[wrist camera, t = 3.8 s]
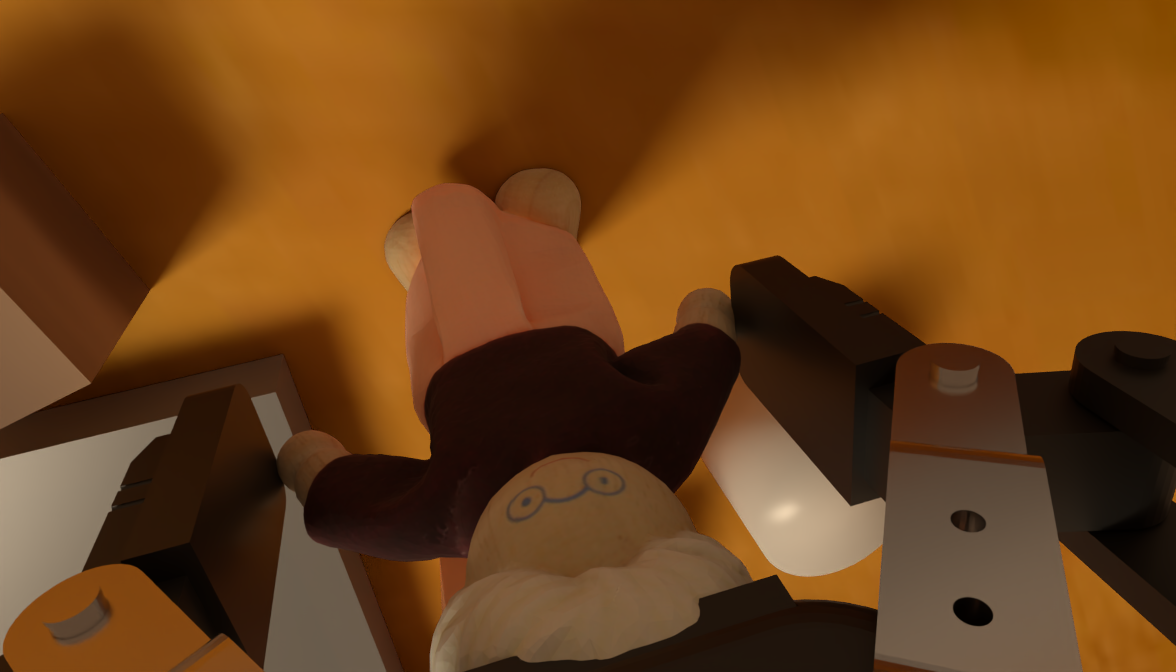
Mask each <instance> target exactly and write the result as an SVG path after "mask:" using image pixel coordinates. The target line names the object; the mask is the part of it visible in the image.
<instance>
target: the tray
mask: <svg viewBox="0 0 1176 672" xmlns="http://www.w3.org/2000/svg"><path fill="white" fill-rule="evenodd" d="M238 383H239V384H242V385H243V386H244V387H245V388H246V390H247V392H248V393H249V395H250V397H251V400H252V402H253V404H254V407H255V409H256V412H257V414H258V416H259V419H260V421H261V424H262V426H263V428H264V431H265V433H266V436H267V438H268V440H269V443H270V445H271V447H272V450H273V452H274V455H275V457H276V459H277V456H278V454H279V451H280V449H281V447H282V446H283V445H284V444H285V442H286V441H287V440H288V439H289V438H291V437H292V436H294V435H295V434H297V433H300V432H303V431H309V430H312V429H311V426H310V423H309V421H308V418H307V415H306V413H305V410H304V408H303V405H302V402H301V400H300V397H299V394H298V392H297V389H296V387H295V384H294V381H293V379H292V376H291V373H290V371H289V368H288V365H287V363H286V360H285V358H284V355H283V354H281V355H277V356H273V357H269V358H264V359H260V360H256V361H252V362H247V363H243V364H239V365H235V366H230V367H226V368H222V369H218V370H213V371H209V372H205V373H201V374H196V375H192V376H188V377H184V378H179V379H175V380H171V381H167V382H162V383H158V384H154V385H150V386H145V387H141V388H137V389H133V390H128V391H124V392H120V393H116V394H111V395H107V396H103V397H99V398H94V399H90V400H86V401H82V402H77V403H73V404H69V405H65V406H60V407H56V408H52V409H48V410H43V411H39V412H35V413H31V414H29V415H27V416H25V417H23V418H21V419H19V420H18V421H16V422H14V423H12V424H10V425H8V426H6V427H4V428H2V429H0V656H1V655H3V642H4V639H5V636H6V634H7V632H8V630H9V628H10V626H11V625H12V624H13V622H14V621H15V619H16V618H17V617H18V616H19V615H20V614H21V613H22V611H23V610H24V609H25V608H26V607H27V606H29V605H30V604H31V603H32V602H33V601H34V600H35V599H37V598H38V597H39V596H41V595H42V594H43V593H44V592H46V591H47V590H49V589H50V588H52V587H54V586H55V585H57V584H59V583H60V582H62V581H64V580H66V579H68V578H70V577H72V576H74V575H76V574H78V573H81V572H82V570H83V568H84V565H85V563H86V561H87V559H88V557H89V554H90V552H91V550H92V548H93V545H94V543H95V541H96V539H97V537H98V534H99V532H100V530H101V528H102V525H103V523H104V521H105V519H106V517H107V514H108V512H110V511H112V508H111V505H112V503H113V501H114V499H115V497H116V494H117V492H118V491H121V488H120V485H121V483H122V481H123V479H124V477H125V474H126V472H127V470H128V468H129V465H130V463H131V462H132V461H133V460H134V459H135V458H136V457H137V456H138V455H139V453H140V452H141V451H142V450H143V449H144V448H145V447H146V446H147V445H148V444H149V443H150V442H151V441H152V440H153V439H154V438H155V437H158V436H163V435H167V434H171V431H172V429H173V426H174V424H175V421H176V419H177V416H178V414H179V411H180V408H181V406H182V403H183V401H184V399H185V397H186V396H189V395H193V394H197V393H201V392H205V391H209V390H213V389H218V388H222V387H226V386H230V385H234V384H238ZM284 486H285V492H286V510H285V518H284V525H283V532H282V539H281V546H280V554H279V561H278V568H277V575H276V582H275V590H274V597H273V604H272V611H271V619H270V626H269V633H268V640H267V647H266V655H265V662H264V669H263V671H264V672H404V671H403V668H402V665H401V663H400V660H399V658H398V655H397V652H396V650H395V647H394V644H393V642H392V639H391V637H390V634H389V631H388V629H387V626H386V623H385V621H384V618H383V615H382V613H381V610H380V608H379V605H378V602H377V600H376V597H375V594H374V592H373V589H372V587H371V584H370V581H369V579H368V576H367V573H366V571H365V568H364V565H363V563H362V560H361V558H360V555H359V553H357V552H354V551H350V550H345V549H339V548H332V547H328V546H325V545H322V544H319V543H317V542H315V541H314V540H312V539H311V538H310V537H309V536H308V534H307V531H306V528H305V524H304V517H303V513H304V507H303V506H302V505H301V503H300V502H299V500H298V499H297V498H296V493H295V492H293V491H292V490H290V489H289V488H288V487H287V486H286V485H285V484H284Z"/></svg>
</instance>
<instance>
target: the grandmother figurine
mask: <svg viewBox="0 0 1176 672" xmlns="http://www.w3.org/2000/svg"><path fill="white" fill-rule="evenodd" d="M411 208H412V212H411V213H409V214H407V215H404V216H403V217H401V218H400V219H399V220H398V221H397V222H395V223H394V225H393V226H392V228H391V229H390V230H389V232H388V234H387V237H386V241H385V256H386V261H387V263H388V265H389V267H390V269H391V270H392V272H393V273H394V275H395V276H396V277H397V279H398V280H399V281H400V283H401V284H402V285H403V286H404V288H405V289H406V290H407V291H408V294H407V300H406V320H405V337H406V354H407V362H408V365H409V369H410V379H411V389H412V396H413V404H414V409H415V411H416V413H417V415H418V417H419V420H420V422H421V423H422V424H423V425H424V427H425V428H426V429H427V431H428V432H429V434H430V440H431V442H430V450H431V457H430V459H428V460H420V459H414V458H408V457H401V456H389V455H383V454H378V455H373V454H367V455H361V454H352V453H350V452H348V451H346V450H345V448H344V447H343V445H342V444H341V443H340V442H339V441H338V440H336V439H335V438H334V437H333V436H331V435H329V434H326V433H324V432H321V431H315V430H309V431H303V432H300V433H297V434H295V435H294V436H292V437H291V438H289V439H288V440H287V441H286V442H285V444H284V445H283V446H282V447H281V449H280V451H279V454H278V456H277V462H276V465H277V470H278V474H279V477H280V479H281V480H282V482H283V483H284V484H285V485H286V486H287V487H288V488H289V489H290V490H292V491H293V492H295V493H296V498H297V499H298V500H299V502H300V503H301V505H302V506H303V507H304V513H303V517H304V524H305V528H306V531H307V534H308V536H309V537H310V538H311V539H312V540H314V541H315V542H317V543H319V544H322V545H325V546H328V547H332V548H339V549H345V550H350V551H354V552H357V553H361V554H365V555H369V556H373V557H378V558H382V559H387V560H393V561H406V562H408V561H423V560H431V559H435V558H439V557H446V558H468V559H467V565H466V581H465V586H464V587H463V588H462V589H460V590H459V591H457V592H456V593H455V594H454V595H453V596H452V597H451V598H450V599H449V601H448V604H447V606H446V607H445V609H444V611H443V613H442V615H441V617H440V620H439V622H438V624H437V626H436V629H435V631H434V634H433V638H432V644H431V650H430V672H464V671H467V670H470V669H474V668H477V667H480V666H483V665H487V664H490V663H493V662H496V661H499V660H503V659H506V658H509V657H512V656H518V657H519V658H520V659H521V660H523V661H526V662H544V661H557V660H568V659H569V660H578V661H584V660H593V659H598V660H603V659H610V658H612V657H615V656H617V655H620V654H622V653H625V652H627V651H629V650H632V649H635V648H639V647H642V646H645V645H649V644H652V643H655V642H658V641H661V640H664V639H667V638H670V637H672V636H674V635H676V634H678V633H679V632H681V631H683V630H684V629H686V628H687V627H689V626H691V625H693V624H694V623H696V622H697V621H698V618H699V616H700V609H699V605H698V603H699V598H702V597H706V596H709V595H712V594H715V593H718V592H722V591H725V590H728V589H731V588H735V587H738V586H741V585H744V584H747V583H751V582H753V580H752V578H751V577H750V575H749V573H748V571H747V569H746V567H745V566H744V565H743V563H742V562H741V561H740V559H738V558H737V557H735V556H734V555H733V554H732V553H731V552H730V551H728V550H727V549H726V548H725V547H723V546H722V545H721V544H720V543H719V542H717V541H716V540H714V539H712V538H710V537H708V536H705V535H702V534H698V532H697V531H696V529H695V527H694V525H693V523H692V521H691V519H690V517H689V515H688V513H687V511H686V509H685V508H684V506H683V505H682V503H681V502H680V500H679V499H678V498H677V497H676V496H675V495H674V493H675V492H676V491H677V489H678V488H679V487H680V486H681V485H682V483H683V482H684V481H685V480H686V479H687V478H688V477H689V475H690V474H691V473H692V471H693V469H694V467H695V466H696V464H697V462H698V461H699V459H700V457H701V455H702V453H703V451H704V449H705V447H706V445H707V443H708V441H709V439H710V437H711V435H712V433H713V431H714V429H715V427H716V425H717V422H718V420H719V417H720V415H721V413H722V411H723V408H724V406H725V404H726V402H727V400H728V398H729V395H730V393H731V390H732V388H733V386H734V384H735V382H736V380H737V378H738V375H739V371H740V366H741V353H740V349H739V347H738V346H737V336H736V331H735V319H734V313H733V309H732V307H731V299H730V298H729V297H728V296H727V295H726V294H724V293H723V292H721V291H720V290H716V289H712V288H704V289H697V290H695V291H693V292H691V293H689V294H688V295H687V296H686V297H685V298H684V299H683V301H682V302H681V304H680V306H679V309H678V312H677V318H676V322H677V324H676V326H675V329H674V333H673V334H670V335H667V336H664V337H662V338H660V339H658V340H655V341H652V342H650V343H648V344H644V345H641V346H639V347H636V348H633V349H631V350H629V351H628V352H626V353H625V351H624V342H623V335H622V331H621V328H620V326H619V324H618V321H617V318H616V316H615V313H614V311H613V309H612V306H611V304H610V302H609V300H608V298H607V297H606V295H605V293H604V291H603V289H602V287H601V285H600V283H599V281H598V280H597V277H596V275H595V273H594V271H593V269H592V266H591V264H590V262H589V261H588V259H587V257H586V255H585V253H584V252H583V250H582V249H581V247H580V245H579V244H578V242H577V233H578V227H579V221H580V213H581V199H580V195H579V191H578V189H577V187H576V186H575V184H574V183H573V181H572V180H571V179H569V178H568V177H567V176H566V175H565V174H563V173H561V172H559V171H556V170H553V169H547V168H539V169H529V170H523V171H521V172H518V173H516V174H514V175H513V176H511V177H510V178H509V179H508V180H507V181H506V182H505V183H504V184H503V185H502V186H501V188H500V189H499V191H498V193H497V195H496V199H495V203H494V202H493V201H492V200H491V199H490V198H488V197H487V196H486V195H485V194H483V193H482V192H481V191H480V190H478V189H476V188H475V187H473V186H470V185H465V184H457V183H443V184H439V185H436V186H433V187H431V188H429V189H427V190H425V191H424V192H422V193H420V194H419V195H417V196H416V197H415V198H414V200H413V203H412V206H411Z"/></svg>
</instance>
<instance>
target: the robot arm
mask: <svg viewBox="0 0 1176 672" xmlns="http://www.w3.org/2000/svg"><path fill="white" fill-rule="evenodd" d="M730 289H731V307H732V309H733V313H734V319H735V331H736V336H737V346H738V347H739V349H740V353H741V366H740V371H739V373H740V375H741V377H742V379H743V381H744V383H745V384H746V386H747V387H748V388H749V389H750V390H751V391H752V393H753V394H754V395H755V396H756V397H757V398H758V400H759V401H760V402H761V403H762V404H763V405H764V407H765V408H766V409H767V410H768V411H769V412H770V413H771V415H772V416H773V417H774V418H775V419H776V420H777V422H778V423H779V424H780V425H781V426H782V427H783V429H784V430H785V431H786V432H787V433H788V434H789V436H790V437H791V438H792V439H793V440H794V441H795V442H796V444H797V445H798V446H799V447H800V448H801V449H802V451H803V452H804V453H805V454H806V455H807V456H808V458H809V459H810V460H811V461H812V462H813V463H814V465H815V466H816V467H817V468H818V469H819V470H820V471H821V473H822V474H823V475H824V476H825V477H826V478H827V480H828V481H829V482H830V483H831V484H832V485H833V487H834V488H835V489H836V490H837V491H838V492H839V494H840V495H841V496H842V497H843V498H844V499H845V500H846V502H847V503H848V504H849V505H850V506H854V505H857V504H861V503H864V502H868V501H871V500H874V499H878V498H882V499H883V500H884V501H885V502H886V507H885V521H884V534H883V548H882V562H881V575H880V589H879V602H878V610H876V609H873V608H869V607H865V606H860V605H856V604H851V603H846V602H838V601H830V600H793V599H792V598H791V596H790V595H789V593H788V591H787V590H786V588H785V587H784V585H783V584H782V582H781V581H780V579H779V578H778V576H777V575H773V576H770V577H767V578H764V579H760V580H757V581H754V582H751V583H747V584H744V585H741V586H738V587H735V588H731V589H728V590H725V591H722V592H718V593H715V594H712V595H709V596H706V597H702V598H699V603H698V605H699V609H700V616H699V618H698V621H697V622H696V623H694V624H693V625H691V626H689V627H687V628H686V629H684V630H683V631H681V632H679V633H678V634H676V635H674V636H672V637H670V638H667V639H664V640H661V641H658V642H655V643H652V644H649V645H645V646H642V647H639V648H635V649H632V650H629V651H627V652H625V653H622V654H620V655H617V656H615V657H612V658H610V659H603V660H598V659H593V660H584V661H578V660H569V659H568V660H557V661H544V662H526V661H523V660H521V659H520V658H519V657H518V656H512V657H509V658H506V659H503V660H499V661H496V662H493V663H490V664H487V665H483V666H480V667H477V668H474V669H470V670H467V671H464V672H1083V671H1082V665H1081V660H1080V654H1079V649H1078V643H1077V638H1076V632H1075V627H1074V621H1073V616H1072V610H1071V605H1070V599H1069V594H1068V589H1067V583H1066V578H1065V572H1064V567H1063V561H1062V556H1061V550H1060V545H1059V541H1060V542H1061V543H1063V544H1064V545H1065V546H1066V547H1067V548H1068V549H1069V550H1070V551H1071V552H1072V553H1074V554H1075V555H1076V556H1077V557H1078V558H1079V559H1080V560H1081V561H1082V562H1084V563H1085V564H1086V565H1087V566H1088V567H1089V568H1090V569H1091V570H1092V571H1094V572H1095V573H1096V574H1097V575H1098V576H1099V577H1100V578H1101V579H1102V580H1103V581H1105V582H1106V583H1107V584H1108V585H1109V586H1110V587H1111V588H1112V589H1113V590H1115V591H1116V592H1117V593H1118V594H1119V595H1120V596H1121V597H1122V598H1123V599H1125V600H1126V601H1127V602H1128V603H1129V604H1130V605H1131V606H1132V607H1133V608H1134V609H1136V610H1137V611H1138V612H1139V613H1140V614H1141V615H1142V616H1143V617H1144V618H1146V619H1147V620H1148V621H1149V622H1150V623H1151V624H1152V625H1153V626H1154V627H1156V628H1157V629H1158V630H1159V631H1160V632H1161V633H1162V634H1163V635H1164V636H1165V637H1167V638H1168V639H1169V640H1170V641H1171V642H1172V643H1173V644H1174V645H1175V646H1176V503H1175V502H1173V501H1172V499H1173V495H1174V492H1175V489H1176V341H1175V340H1172V339H1169V338H1166V337H1162V336H1158V335H1153V334H1148V333H1141V332H1131V331H1112V332H1103V333H1098V334H1094V335H1091V336H1088V337H1086V338H1084V339H1083V340H1081V341H1080V342H1079V343H1078V344H1077V346H1076V349H1075V354H1074V359H1073V364H1072V369H1071V371H1055V372H1038V373H1022V374H1015V373H1014V370H1013V369H1012V367H1011V366H1010V364H1009V363H1007V362H1006V361H1005V360H1004V359H1003V358H1001V357H1000V356H998V355H996V354H994V353H992V352H990V351H987V350H984V349H982V348H978V347H974V346H970V345H964V344H955V343H936V344H928V345H926V344H925V343H924V342H922V341H921V340H919V339H918V338H917V337H915V336H914V335H912V334H911V333H910V332H908V331H907V330H905V329H904V328H903V327H901V326H900V325H898V324H897V323H896V322H894V321H893V320H891V319H890V318H889V317H887V316H886V315H884V314H883V313H882V314H879V310H877V309H876V308H875V307H873V306H872V305H870V304H869V303H868V302H863V299H862V298H861V297H859V296H858V295H856V294H855V293H854V292H852V291H851V290H849V289H848V288H847V287H845V286H844V285H841V284H838V283H835V282H832V281H829V280H826V279H823V278H820V277H817V276H813V277H808V276H806V275H805V274H804V273H802V272H801V271H800V270H798V269H797V268H796V267H794V266H793V265H792V264H790V263H789V262H788V261H786V260H785V259H784V258H782V257H781V256H778V255H777V256H773V257H768V258H764V259H760V260H756V261H752V262H748V263H743V264H739V265H735V266H734V267H733V268H732V271H731V276H730ZM276 462H277V459H276V457H275V455H274V452H273V450H272V447H271V445H270V443H269V440H268V438H267V436H266V433H265V431H264V428H263V426H262V424H261V421H260V419H259V416H258V414H257V412H256V409H255V407H254V404H253V402H252V400H251V397H250V395H249V393H248V392H247V390H246V388H245V387H244V386H243V385H242V384H239V383H238V384H234V385H230V386H226V387H222V388H218V389H213V390H209V391H205V392H201V393H197V394H193V395H189V396H186V397H185V399H184V401H183V403H182V406H181V408H180V411H179V414H178V416H177V419H176V421H175V424H174V426H173V429H172V431H171V434H167V435H163V436H158V437H155V438H154V439H153V440H152V441H151V442H150V443H149V444H148V445H147V446H146V447H145V448H144V449H143V450H142V451H141V452H140V453H139V455H138V456H137V457H136V458H135V459H134V460H133V461H132V462H131V463H130V465H129V468H128V470H127V472H126V474H125V477H124V479H123V481H122V483H121V485H120V488H121V491H118V492H117V494H116V497H115V499H114V501H113V503H112V505H111V508H112V511H110V512H108V514H107V517H106V519H105V521H104V523H103V525H102V528H101V530H100V532H99V534H98V537H97V539H96V541H95V543H94V545H93V548H92V550H91V552H90V554H89V557H88V559H87V561H86V563H85V565H84V568H83V570H82V572H81V573H78V574H76V575H74V576H72V577H70V578H68V579H66V580H64V581H62V582H60V583H59V584H57V585H55V586H54V587H52V588H50V589H49V590H47V591H46V592H44V593H43V594H42V595H41V596H39V597H38V598H37V599H35V600H34V601H33V602H32V603H31V604H30V605H29V606H27V607H26V608H25V609H24V610H23V611H22V613H21V614H20V615H19V616H18V617H17V618H16V619H15V621H14V622H13V624H12V625H11V626H10V628H9V630H8V632H7V634H6V636H5V639H4V642H3V655H1V656H0V672H264V671H263V669H264V662H265V655H266V647H267V640H268V633H269V626H270V619H271V611H272V604H273V597H274V590H275V582H276V575H277V568H278V561H279V554H280V546H281V539H282V532H283V525H284V518H285V510H286V492H285V486H284V483H283V482H282V480H281V479H280V477H279V474H278V470H277V465H276Z"/></svg>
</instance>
